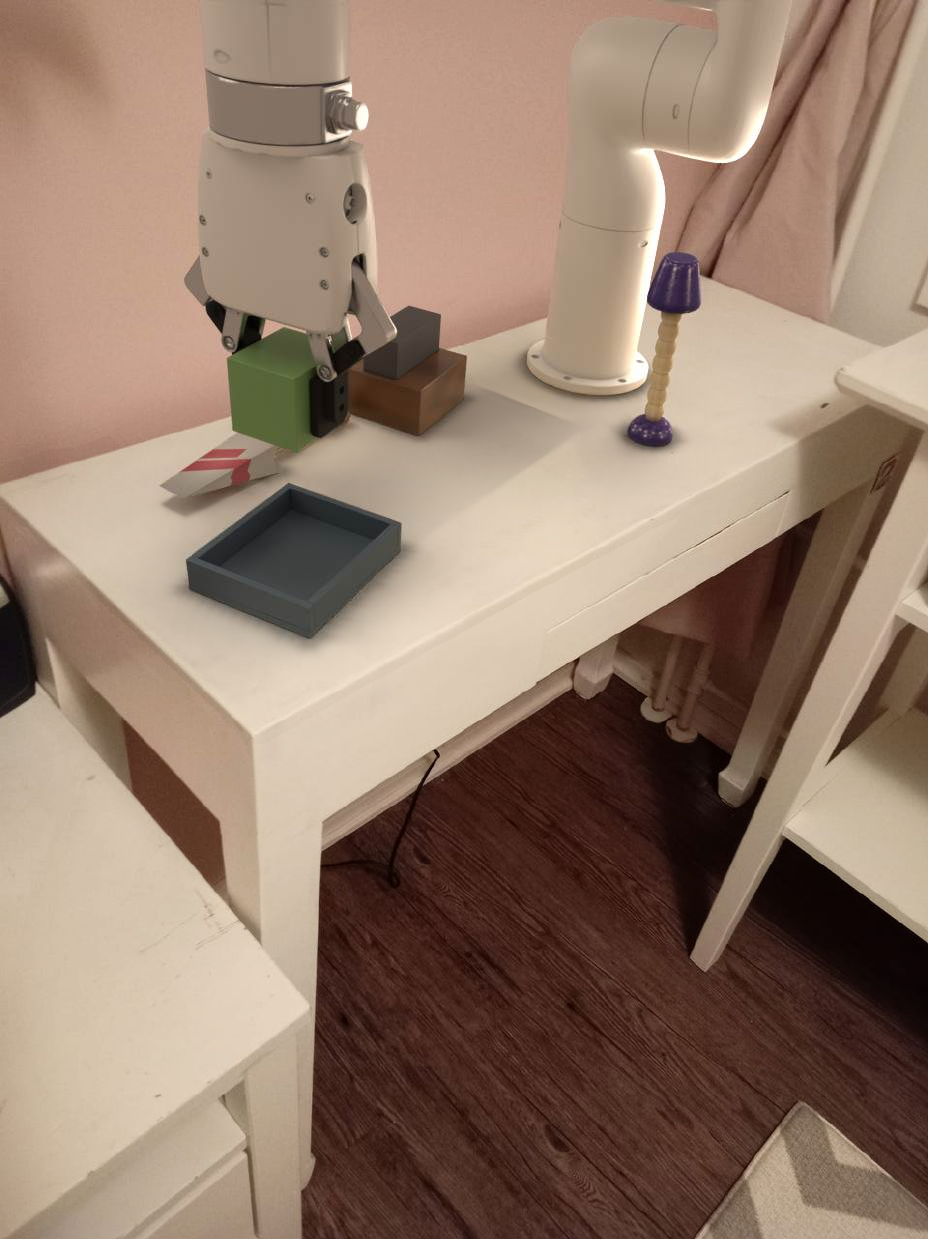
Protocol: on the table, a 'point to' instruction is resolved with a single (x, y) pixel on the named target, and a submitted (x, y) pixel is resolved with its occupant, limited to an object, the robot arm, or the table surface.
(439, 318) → the charcoal block
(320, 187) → the robot arm
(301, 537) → the tray
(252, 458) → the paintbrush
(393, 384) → the walnut block
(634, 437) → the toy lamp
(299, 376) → the green block
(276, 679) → the table surface
